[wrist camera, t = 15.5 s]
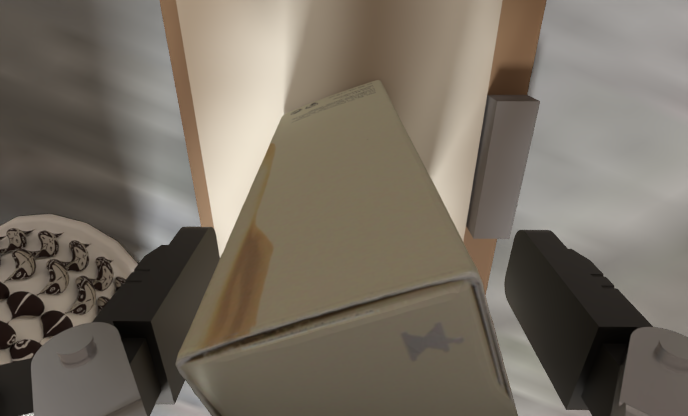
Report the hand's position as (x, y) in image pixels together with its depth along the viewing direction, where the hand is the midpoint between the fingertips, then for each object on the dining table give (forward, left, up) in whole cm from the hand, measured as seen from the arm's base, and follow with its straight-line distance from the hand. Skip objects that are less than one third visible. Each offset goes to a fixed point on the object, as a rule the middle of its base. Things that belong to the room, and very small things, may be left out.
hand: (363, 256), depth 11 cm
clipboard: (0, 0, -8) cm, 8 cm away
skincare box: (0, 0, -7) cm, 7 cm away
